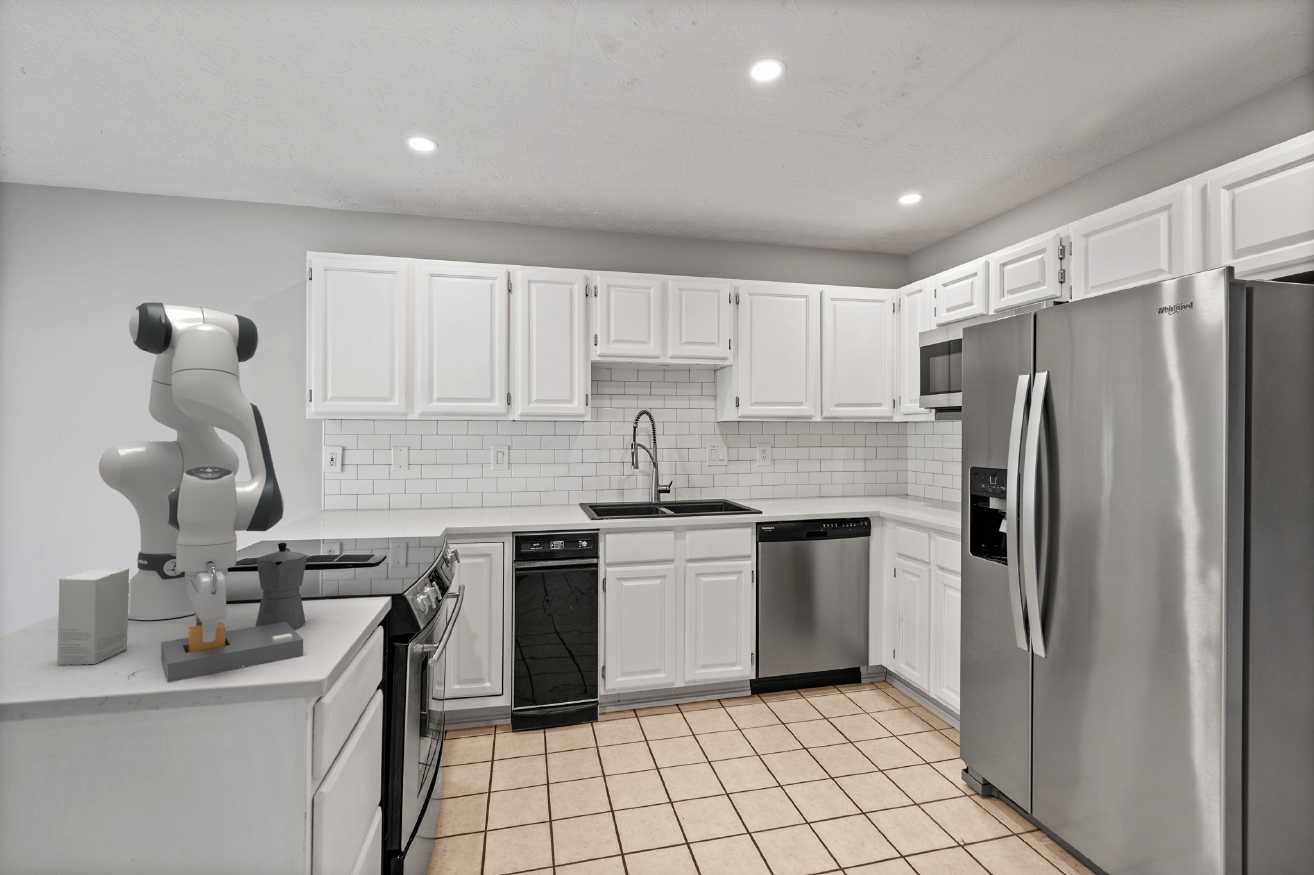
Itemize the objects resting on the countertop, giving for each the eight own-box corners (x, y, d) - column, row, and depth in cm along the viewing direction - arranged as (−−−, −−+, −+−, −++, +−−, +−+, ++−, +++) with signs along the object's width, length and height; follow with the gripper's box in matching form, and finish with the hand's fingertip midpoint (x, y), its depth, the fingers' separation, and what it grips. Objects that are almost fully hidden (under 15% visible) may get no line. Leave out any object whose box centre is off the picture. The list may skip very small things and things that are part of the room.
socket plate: (160, 658, 114) (161, 638, 114) (285, 636, 127) (286, 618, 127) (167, 681, 103) (168, 660, 103) (302, 655, 117) (303, 636, 117)
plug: (188, 659, 112) (188, 627, 112) (221, 653, 115) (222, 622, 115) (190, 664, 109) (191, 632, 109) (224, 658, 113) (225, 626, 113)
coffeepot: (302, 633, 129) (304, 546, 129) (249, 638, 125) (251, 549, 125) (309, 613, 143) (310, 535, 143) (261, 617, 139) (263, 537, 139)
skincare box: (93, 649, 117) (95, 567, 117) (131, 649, 118) (132, 567, 118) (54, 666, 109) (56, 577, 109) (94, 665, 110) (96, 577, 110)
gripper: (237, 565, 107) (235, 646, 107) (220, 546, 122) (218, 617, 122) (191, 570, 103) (189, 653, 103) (179, 550, 118) (177, 622, 118)
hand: (205, 633), depth 113 cm, fingers open, 8 cm apart
